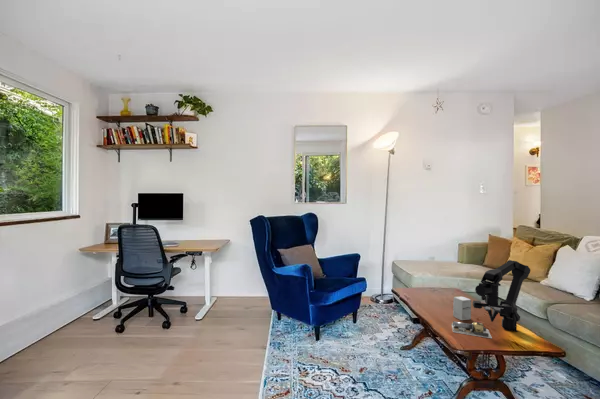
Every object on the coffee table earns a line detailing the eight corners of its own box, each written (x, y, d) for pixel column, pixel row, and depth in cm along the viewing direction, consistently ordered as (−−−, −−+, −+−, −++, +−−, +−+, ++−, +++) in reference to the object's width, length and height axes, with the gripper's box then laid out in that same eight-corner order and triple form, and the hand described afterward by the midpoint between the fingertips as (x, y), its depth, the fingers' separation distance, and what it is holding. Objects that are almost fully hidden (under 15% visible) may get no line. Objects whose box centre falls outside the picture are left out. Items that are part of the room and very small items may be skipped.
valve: (482, 330, 173) (482, 320, 173) (484, 334, 169) (484, 323, 169) (472, 328, 176) (472, 318, 176) (473, 332, 171) (473, 322, 171)
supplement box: (461, 320, 188) (462, 300, 188) (452, 316, 195) (453, 296, 195) (471, 319, 190) (471, 299, 190) (462, 315, 197) (462, 295, 197)
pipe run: (487, 329, 175) (488, 322, 175) (492, 338, 164) (492, 330, 164) (451, 324, 183) (451, 316, 183) (452, 332, 172) (453, 324, 172)
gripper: (507, 291, 175) (507, 318, 175) (471, 288, 182) (470, 314, 182) (513, 297, 165) (513, 326, 165) (474, 293, 172) (474, 320, 172)
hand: (491, 321), depth 171 cm, fingers closed
